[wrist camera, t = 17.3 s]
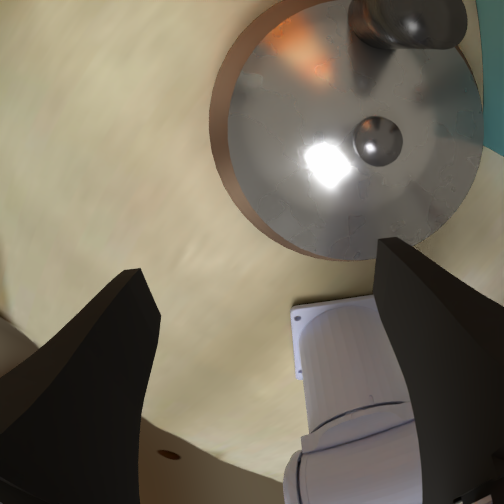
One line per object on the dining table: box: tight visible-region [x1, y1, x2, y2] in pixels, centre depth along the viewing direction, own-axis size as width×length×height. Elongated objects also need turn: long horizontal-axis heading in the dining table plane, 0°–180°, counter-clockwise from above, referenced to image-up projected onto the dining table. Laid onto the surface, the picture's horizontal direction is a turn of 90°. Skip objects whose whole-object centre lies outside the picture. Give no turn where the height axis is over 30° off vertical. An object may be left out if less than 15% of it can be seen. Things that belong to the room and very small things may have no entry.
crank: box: [228, 0, 484, 260], centre depth 12 cm, size 14×14×6 cm
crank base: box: [209, 0, 478, 261], centre depth 15 cm, size 16×16×1 cm
